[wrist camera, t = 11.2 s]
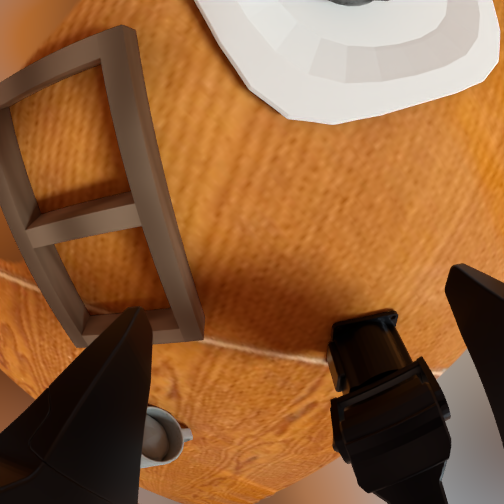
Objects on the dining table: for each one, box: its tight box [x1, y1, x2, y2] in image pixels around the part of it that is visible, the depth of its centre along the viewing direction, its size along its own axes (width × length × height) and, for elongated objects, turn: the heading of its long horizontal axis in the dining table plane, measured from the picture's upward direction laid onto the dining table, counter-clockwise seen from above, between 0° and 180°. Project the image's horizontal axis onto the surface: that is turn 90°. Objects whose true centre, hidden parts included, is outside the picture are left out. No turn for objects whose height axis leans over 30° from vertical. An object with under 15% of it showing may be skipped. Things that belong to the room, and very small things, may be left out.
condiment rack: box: [0, 25, 205, 348], centre depth 18 cm, size 12×22×2 cm, turn 8°
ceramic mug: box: [140, 406, 193, 468], centre depth 32 cm, size 11×8×8 cm
